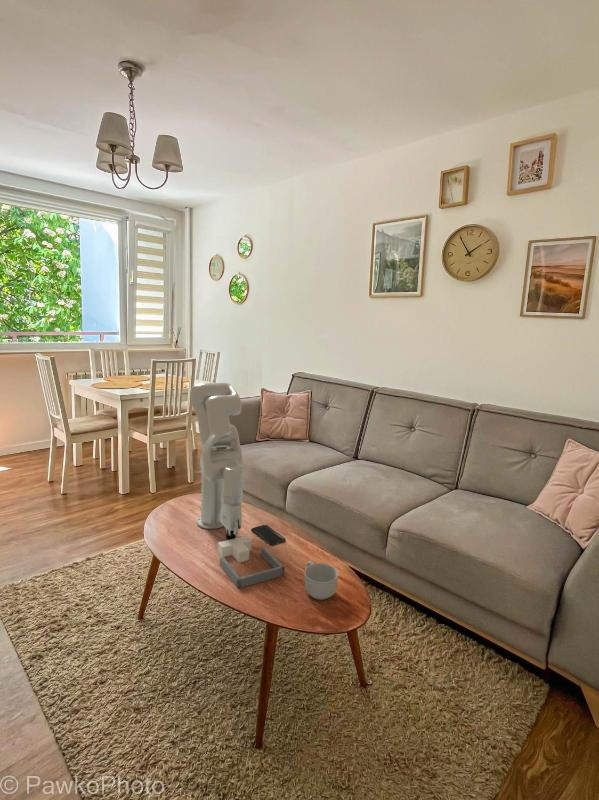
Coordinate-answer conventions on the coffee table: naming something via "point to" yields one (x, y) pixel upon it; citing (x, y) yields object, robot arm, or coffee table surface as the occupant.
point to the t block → (236, 548)
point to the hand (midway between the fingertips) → (230, 543)
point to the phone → (268, 534)
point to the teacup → (320, 580)
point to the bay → (256, 577)
